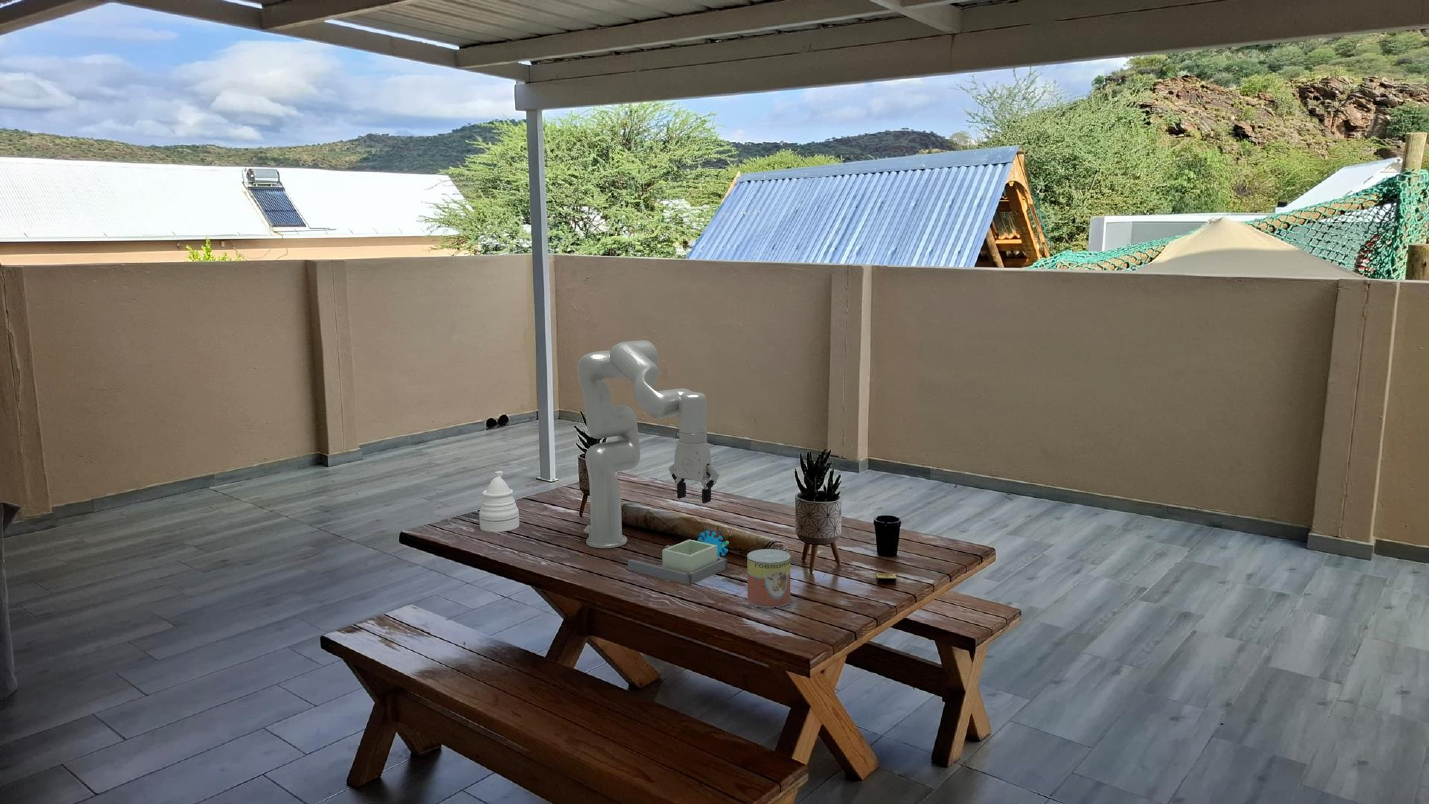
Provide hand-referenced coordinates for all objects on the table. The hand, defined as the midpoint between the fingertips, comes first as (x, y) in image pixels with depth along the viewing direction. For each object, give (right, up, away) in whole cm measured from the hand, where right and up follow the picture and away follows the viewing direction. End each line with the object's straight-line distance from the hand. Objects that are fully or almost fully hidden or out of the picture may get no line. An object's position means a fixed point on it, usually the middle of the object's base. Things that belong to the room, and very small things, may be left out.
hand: (694, 499), depth 270 cm
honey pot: (-66, -15, +55) cm, 87 cm away
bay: (-5, -21, +7) cm, 23 cm away
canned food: (+20, -25, -15) cm, 35 cm away
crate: (-1, -21, +4) cm, 21 cm away
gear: (+6, -19, +20) cm, 29 cm away
